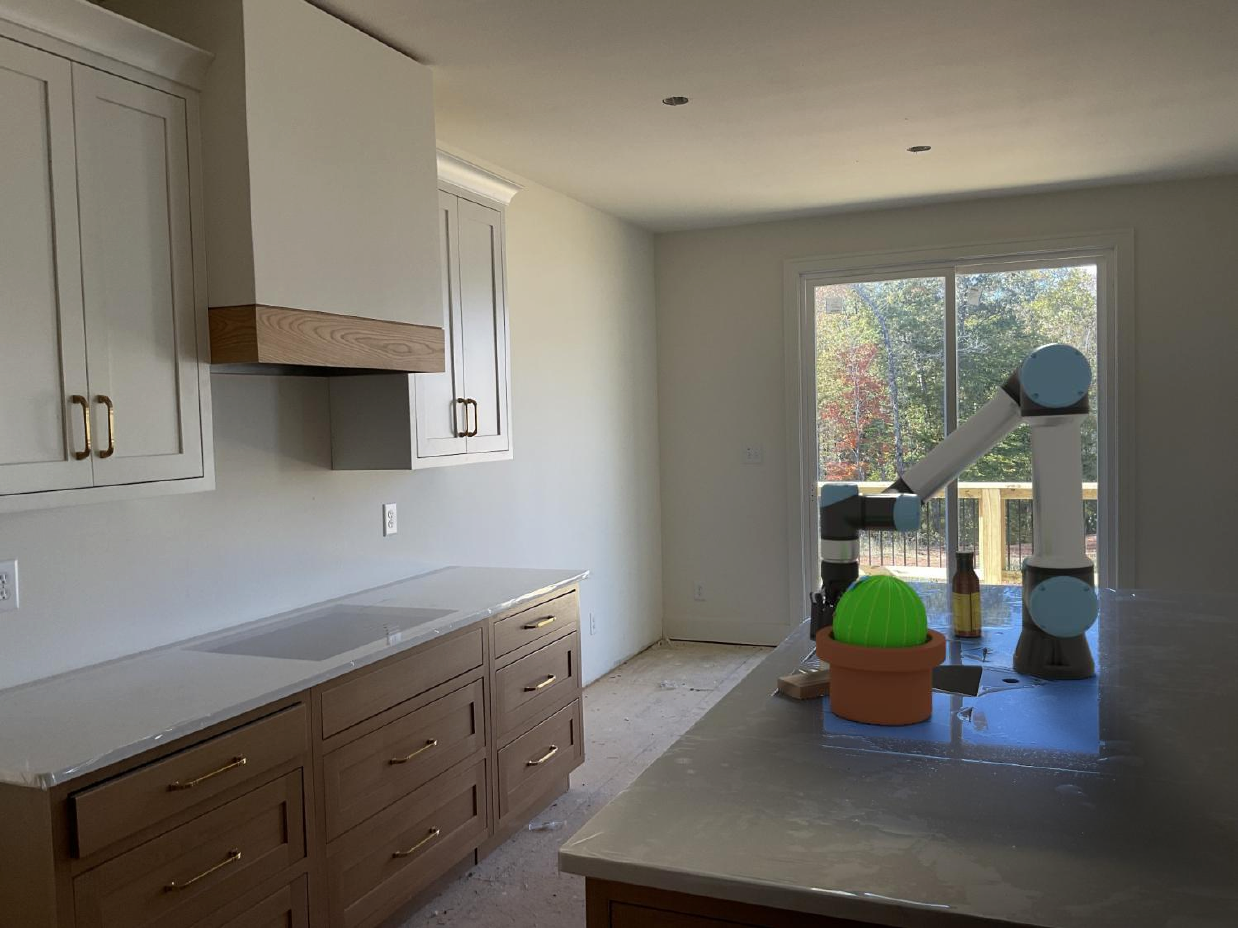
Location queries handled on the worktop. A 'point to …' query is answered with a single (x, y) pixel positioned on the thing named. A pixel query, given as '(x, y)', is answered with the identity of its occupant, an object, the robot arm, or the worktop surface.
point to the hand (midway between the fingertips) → (840, 672)
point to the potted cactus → (881, 653)
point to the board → (806, 684)
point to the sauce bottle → (966, 597)
